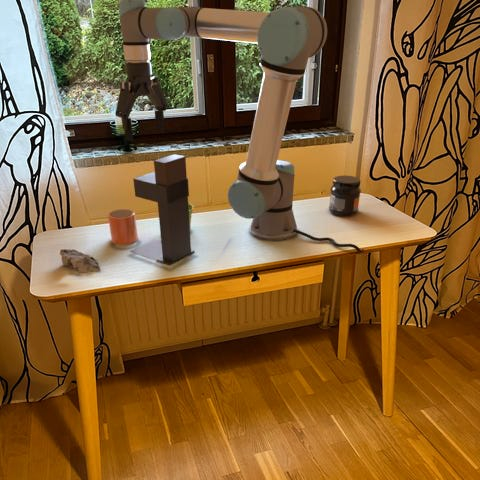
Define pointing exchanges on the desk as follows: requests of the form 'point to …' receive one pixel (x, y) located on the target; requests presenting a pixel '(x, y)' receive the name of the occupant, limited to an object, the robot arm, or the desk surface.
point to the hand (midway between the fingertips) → (145, 136)
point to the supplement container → (345, 195)
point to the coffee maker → (167, 209)
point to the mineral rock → (79, 261)
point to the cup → (123, 226)
